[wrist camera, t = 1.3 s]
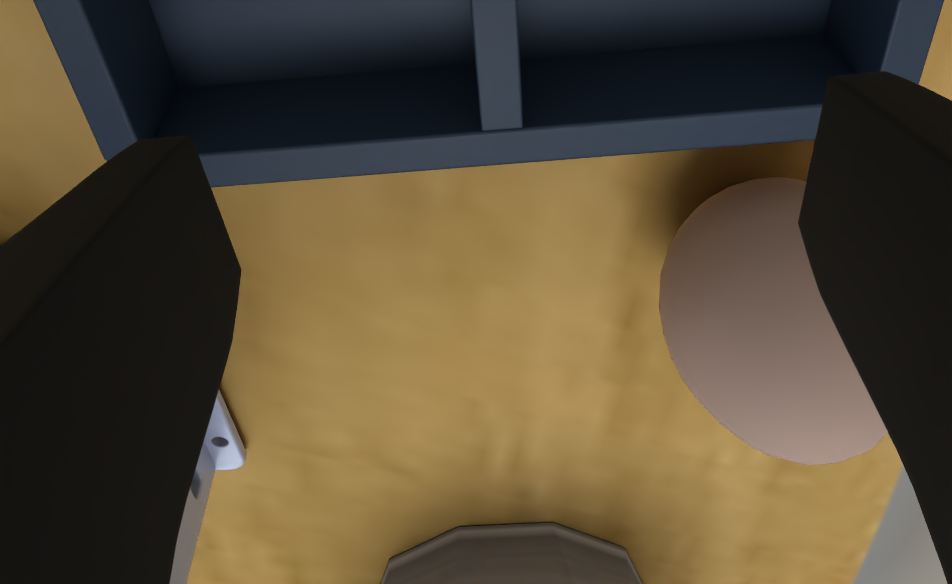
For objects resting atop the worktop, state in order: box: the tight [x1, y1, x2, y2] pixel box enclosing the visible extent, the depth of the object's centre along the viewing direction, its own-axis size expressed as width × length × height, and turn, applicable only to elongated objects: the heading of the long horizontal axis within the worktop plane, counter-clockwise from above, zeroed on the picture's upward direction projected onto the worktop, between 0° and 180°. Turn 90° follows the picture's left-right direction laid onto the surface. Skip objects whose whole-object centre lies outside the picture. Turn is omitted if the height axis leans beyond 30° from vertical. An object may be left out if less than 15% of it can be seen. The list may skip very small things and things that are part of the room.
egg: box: [659, 177, 888, 465], centre depth 19 cm, size 5×5×7 cm
